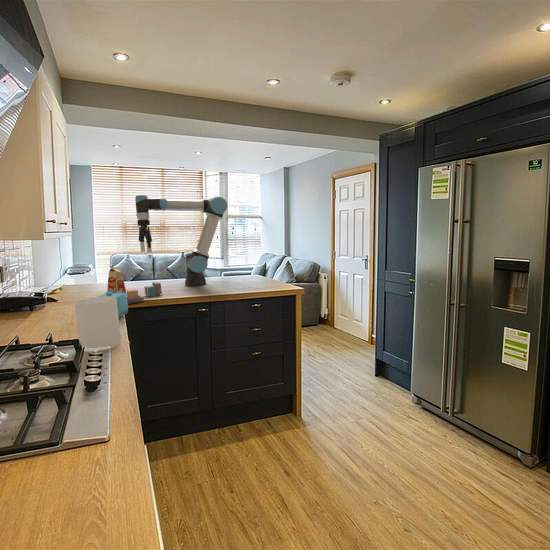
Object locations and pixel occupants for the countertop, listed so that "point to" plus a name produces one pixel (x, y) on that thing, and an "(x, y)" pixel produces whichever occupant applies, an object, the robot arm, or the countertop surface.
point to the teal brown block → (153, 289)
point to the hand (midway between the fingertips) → (146, 252)
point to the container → (98, 322)
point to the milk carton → (115, 281)
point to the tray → (135, 300)
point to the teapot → (119, 302)
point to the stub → (132, 294)
